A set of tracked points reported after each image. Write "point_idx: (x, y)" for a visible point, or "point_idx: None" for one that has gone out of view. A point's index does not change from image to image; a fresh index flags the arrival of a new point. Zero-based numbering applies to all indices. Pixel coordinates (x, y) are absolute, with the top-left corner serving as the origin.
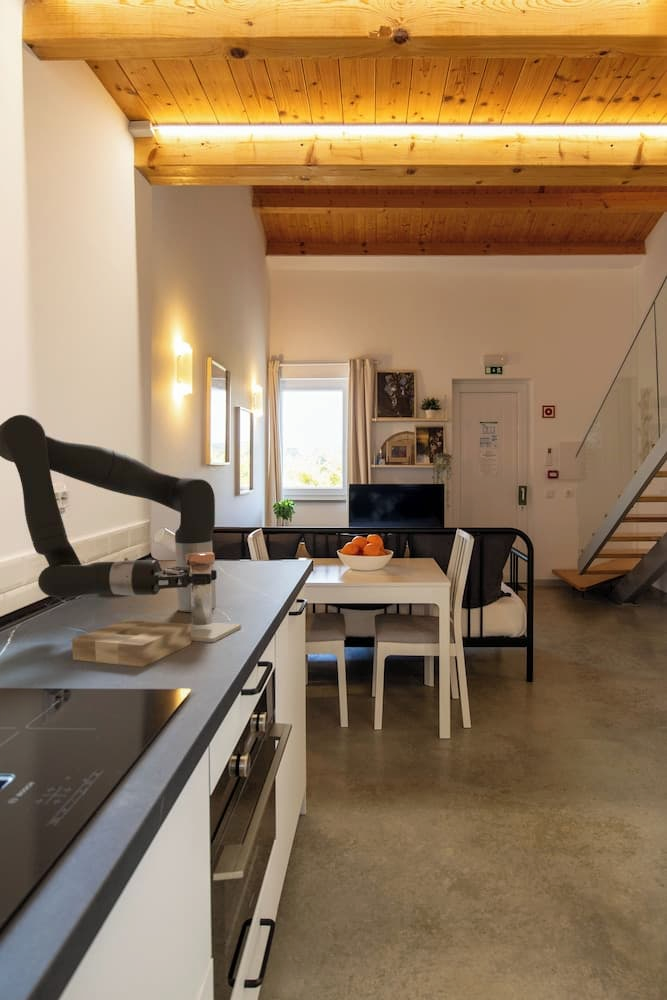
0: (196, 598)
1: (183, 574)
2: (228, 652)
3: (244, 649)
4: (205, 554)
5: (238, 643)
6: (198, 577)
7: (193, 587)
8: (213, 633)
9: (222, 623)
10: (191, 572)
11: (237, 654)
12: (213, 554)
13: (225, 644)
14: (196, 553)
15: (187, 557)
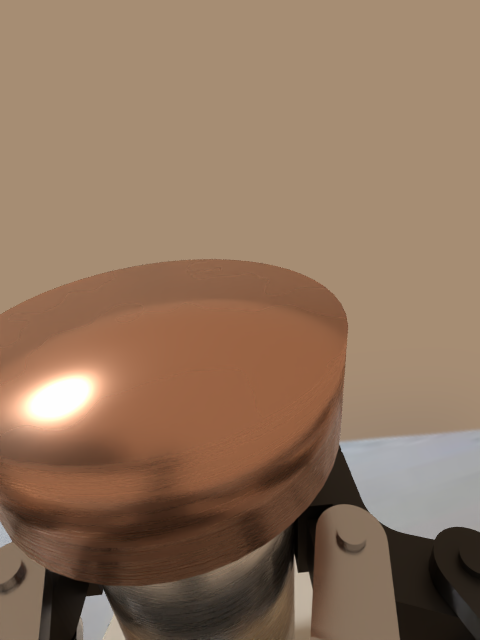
0: (294, 626)
1: (396, 627)
2: (470, 486)
3: (416, 453)
4: (199, 284)
5: (362, 486)
6: (346, 467)
7: (286, 610)
8: (307, 603)
9: (115, 623)
10: (268, 544)
11: (472, 457)
12: (190, 262)
13: (390, 524)
14: (61, 360)
15: (305, 422)
